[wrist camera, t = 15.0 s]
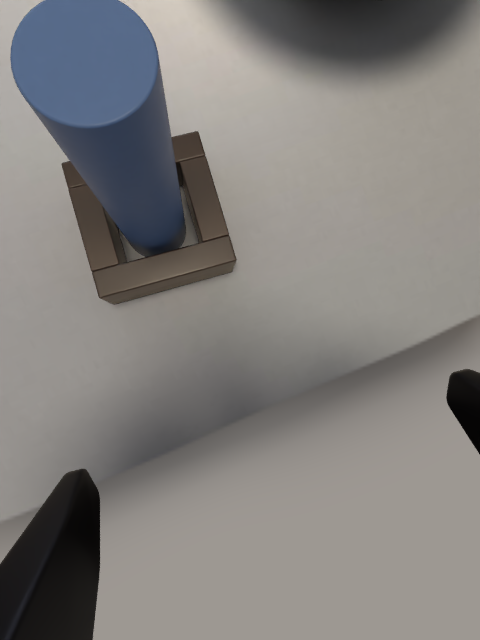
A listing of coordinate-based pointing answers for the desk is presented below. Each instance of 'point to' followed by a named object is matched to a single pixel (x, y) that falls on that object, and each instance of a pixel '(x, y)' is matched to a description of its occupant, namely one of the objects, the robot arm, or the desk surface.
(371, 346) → the desk surface
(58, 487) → the robot arm
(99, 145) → the blue tall cylinder
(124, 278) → the frame
